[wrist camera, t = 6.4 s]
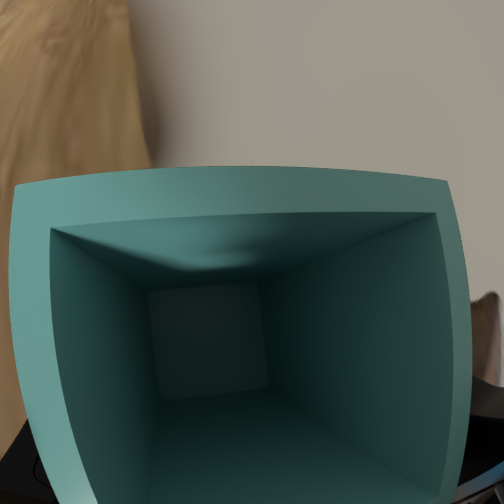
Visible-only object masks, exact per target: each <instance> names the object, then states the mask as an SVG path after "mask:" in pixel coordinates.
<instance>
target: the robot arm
mask: <svg viewBox="0 0 504 504" xmlns="http://www.w3.org/2000/svg"><path fill="white" fill-rule="evenodd" d="M0 504H60V503H59V501H58V499H57V497H56V495H55V492H54V490H53V488H52V486H51V483H50V481H49V479H48V476H47V474H46V471H45V469H44V466H43V463H42V461H41V458H40V455H39V452H38V450H37V447H36V444H35V441H34V437H33V434H32V431H31V428H30V424H29V421H28V419H27V420H26V422H25V424H24V425H23V427H22V429H21V430H20V432H19V434H18V435H17V437H16V438H15V440H14V441H13V443H12V444H11V446H10V447H9V449H8V450H7V452H6V453H5V455H4V456H3V458H2V459H1V461H0ZM450 504H504V387H497V386H494V385H491V384H489V383H487V382H485V381H484V380H482V379H480V378H478V377H476V376H475V375H473V374H472V389H471V404H470V414H469V423H468V431H467V438H466V445H465V451H464V457H463V462H462V467H461V472H460V476H459V481H458V485H457V489H456V493H455V496H454V500H453V502H452V503H450Z"/></svg>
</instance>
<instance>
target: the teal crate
mask: <svg viewBox="0 0 504 504" xmlns="http://www.w3.org/2000/svg"><path fill="white" fill-rule="evenodd" d="M9 304H10V319H11V330H12V339H13V347H14V354H15V361H16V367H17V372H18V378H19V383H20V388H21V392H22V397H23V401H24V405H25V409H26V413H27V417H28V421H29V424H30V428H31V431H32V434H33V437H34V441H35V444H36V447H37V450H38V452H39V455H40V458H41V461H42V463H43V466H44V469H45V471H46V474H47V476H48V479H49V481H50V483H51V486H52V488H53V490H54V492H55V495H56V497H57V499H58V501H59V503H60V504H450V503H452V502H453V500H454V496H455V493H456V489H457V485H458V481H459V476H460V472H461V467H462V462H463V457H464V451H465V445H466V438H467V431H468V423H469V414H470V404H471V389H472V323H471V308H470V297H469V287H468V279H467V272H466V265H465V259H464V252H463V246H462V241H461V236H460V231H459V226H458V221H457V217H456V213H455V208H454V204H453V200H452V197H451V193H450V189H449V186H448V182H447V181H445V180H438V179H431V178H424V177H416V176H407V175H399V174H388V173H380V172H368V171H357V170H342V169H328V168H309V167H280V166H279V167H278V166H208V167H178V168H159V169H144V170H130V171H118V172H108V173H98V174H89V175H80V176H72V177H64V178H57V179H50V180H43V181H37V182H31V183H25V184H19V185H15V192H14V199H13V207H12V216H11V228H10V242H9Z"/></svg>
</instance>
